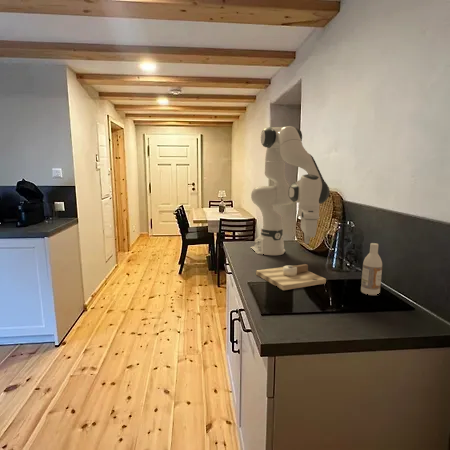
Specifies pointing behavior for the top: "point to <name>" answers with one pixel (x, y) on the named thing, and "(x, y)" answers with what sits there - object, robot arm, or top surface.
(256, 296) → the top surface
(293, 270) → the brown and cream block
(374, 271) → the bath foam
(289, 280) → the wooden cutting board
